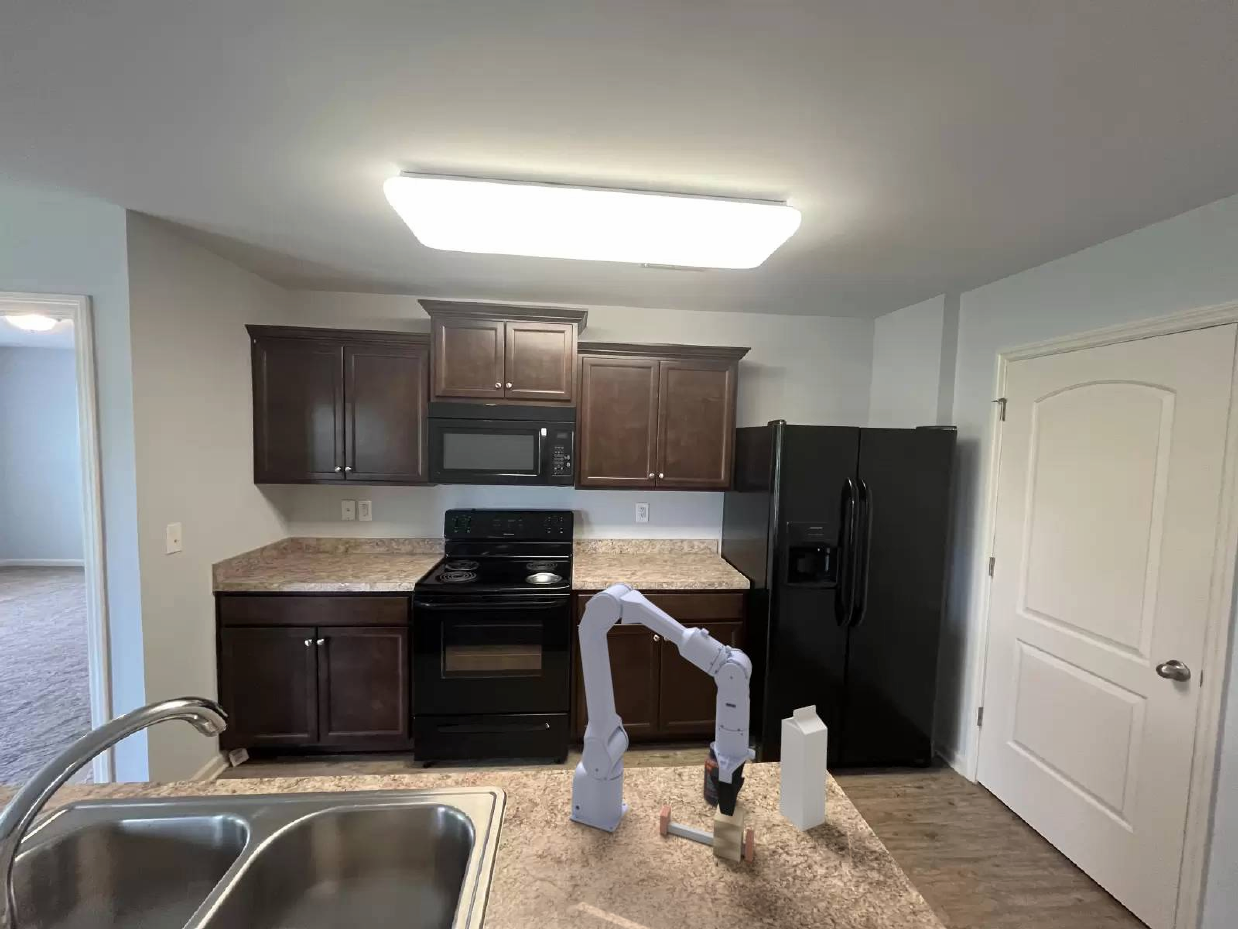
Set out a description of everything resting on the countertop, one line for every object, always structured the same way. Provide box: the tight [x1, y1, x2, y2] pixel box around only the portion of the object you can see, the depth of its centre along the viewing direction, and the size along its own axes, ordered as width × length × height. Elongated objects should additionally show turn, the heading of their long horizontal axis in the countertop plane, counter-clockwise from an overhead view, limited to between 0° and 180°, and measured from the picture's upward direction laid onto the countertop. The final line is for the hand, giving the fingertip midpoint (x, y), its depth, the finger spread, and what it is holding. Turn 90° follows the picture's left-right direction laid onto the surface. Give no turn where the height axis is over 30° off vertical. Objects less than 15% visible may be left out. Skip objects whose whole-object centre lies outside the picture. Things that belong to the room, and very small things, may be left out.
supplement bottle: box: [703, 741, 719, 808], centre depth 101 cm, size 6×6×11 cm
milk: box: [778, 704, 828, 832], centre depth 96 cm, size 6×6×22 cm
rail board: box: [659, 804, 755, 863], centre depth 88 cm, size 17×9×4 cm, turn 69°
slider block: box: [712, 804, 745, 863], centre depth 87 cm, size 5×5×6 cm
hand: (730, 800), depth 87 cm, fingers open, 7 cm apart
